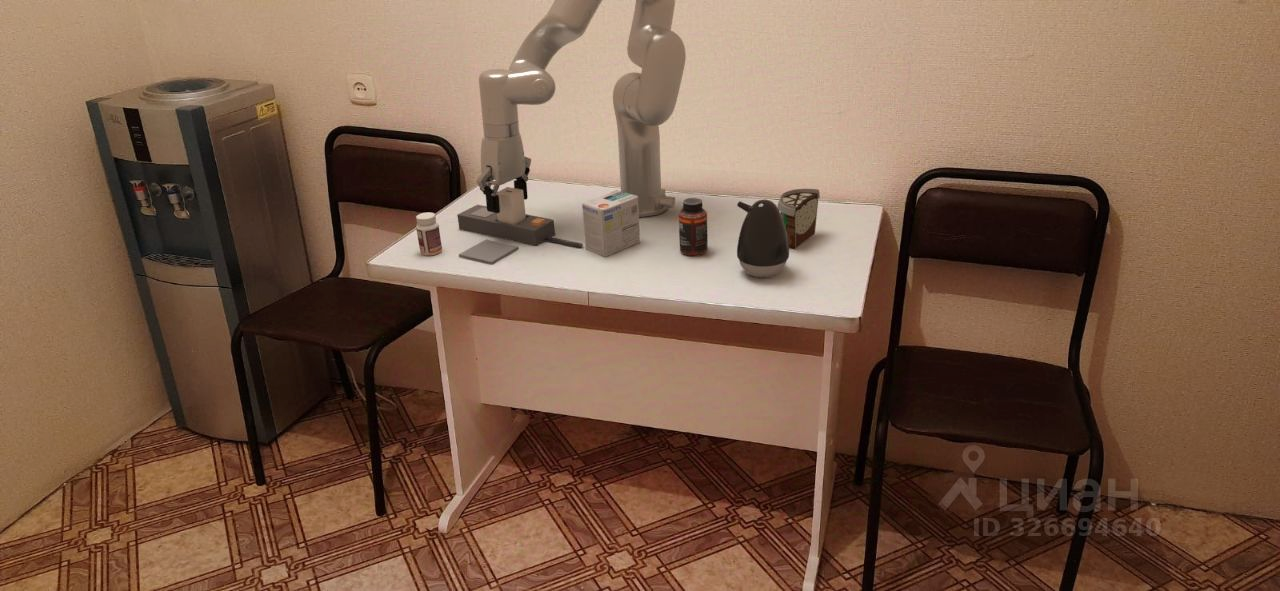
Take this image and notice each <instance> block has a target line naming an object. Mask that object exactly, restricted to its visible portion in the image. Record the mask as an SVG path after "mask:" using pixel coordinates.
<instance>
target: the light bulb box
mask: <svg viewBox="0 0 1280 591" xmlns="http://www.w3.org/2000/svg"><path fill="white" fill-rule="evenodd" d="M581 205H582V217H583V228H584V229H583V231H584V241H585V242H584V243H585V249H586V250H587V251H588V252H589V251H590V252H592V253H594V254H596V255H599V256H601V257H604V258H606V257H608V256H610V255H612V254H615V253H617V252H620V251H622V250H624V249H627V248H630V247H632V246H633V245H636V244H638V243H639V244H640V243H641V234H640V230H641V229H640V217H639V209H638V196H636V195H632V194H629V193H625V192H622V191H621V190H618V189H617V190H614V191H611V192H609V193H607V194H605V195H601V196H599V197H597V198H594V199H591V200H589V201H586V202H583V203H581Z"/></svg>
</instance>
